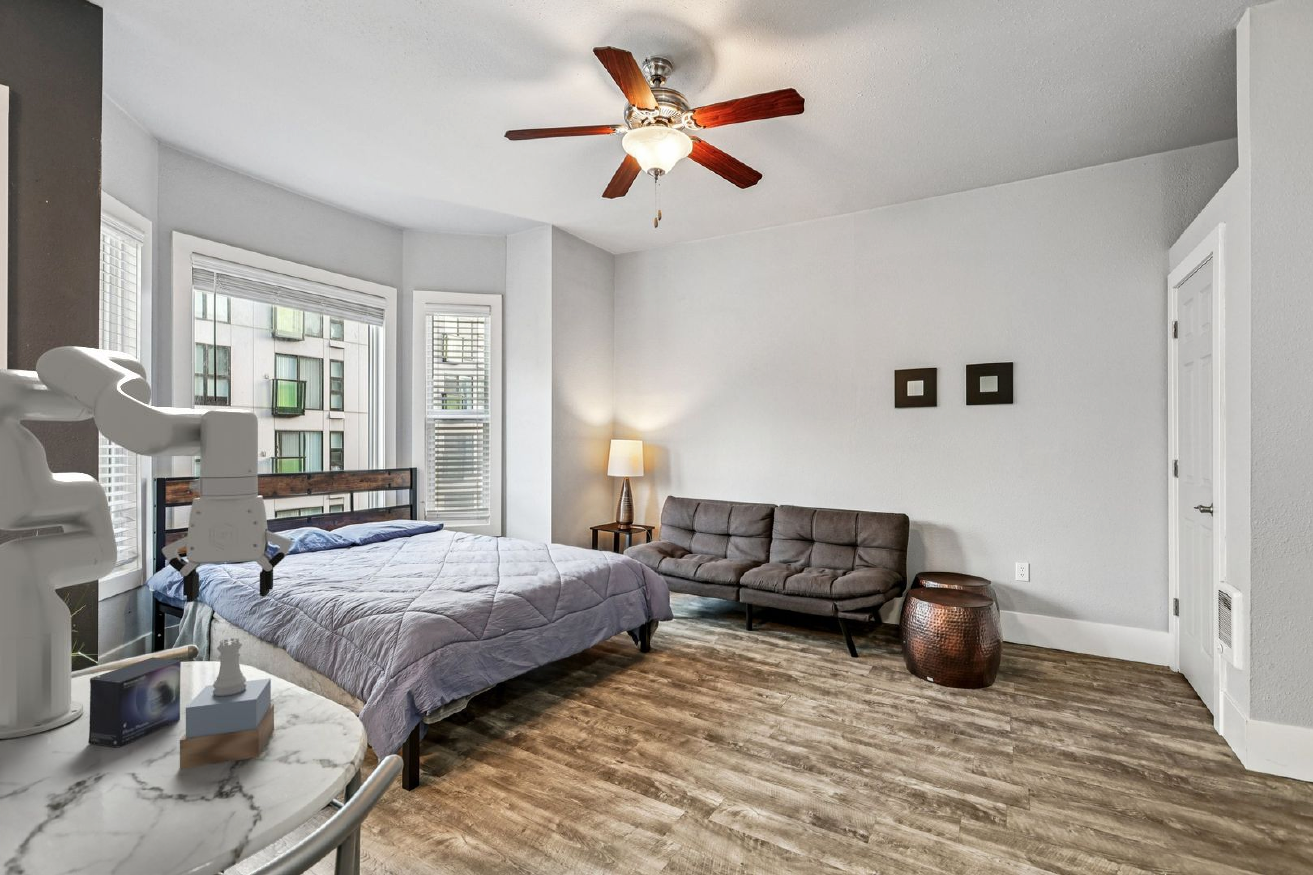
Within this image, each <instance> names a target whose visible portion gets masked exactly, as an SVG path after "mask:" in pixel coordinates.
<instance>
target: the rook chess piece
mask: <svg viewBox="0 0 1313 875" xmlns="http://www.w3.org/2000/svg"><path fill="white" fill-rule="evenodd" d="M242 646H243V644H242V643H241V641H240V638H235V637H231V638H230V641H229V639H228V638H225V639H223V640H220V641H219V645H218V646H217V648H216V650H217V651H218V652H219V653H220V655H219V657H218V659H219V662H220V663H219V664H220V665H219V671H218V675H217V676H216V679H215V681H214V682H213V684H212V685H213V687H214V688H215V689H214V690H213V694H214V695H215V696H218V697H224V696H231V695H235V694H238V693H240V692H242V691H243V690H244V689H245V688H246V687H247V685H246V684H244V683H245V682H246V681H247V679H246V677H245V676H244V675H243V674H244V673H243V672H242V671H241V666H240V656H241V654H240V652H239V651H240V649H241V647H242Z"/></svg>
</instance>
